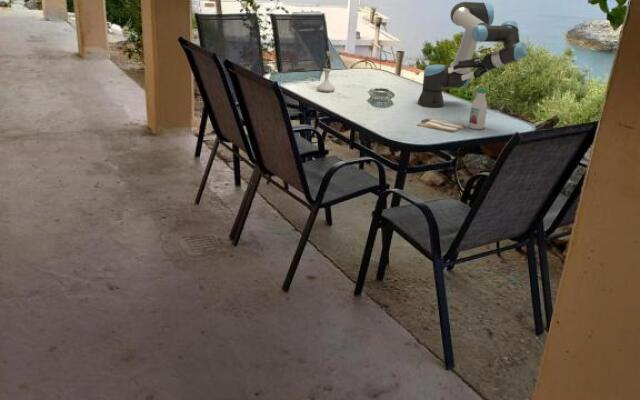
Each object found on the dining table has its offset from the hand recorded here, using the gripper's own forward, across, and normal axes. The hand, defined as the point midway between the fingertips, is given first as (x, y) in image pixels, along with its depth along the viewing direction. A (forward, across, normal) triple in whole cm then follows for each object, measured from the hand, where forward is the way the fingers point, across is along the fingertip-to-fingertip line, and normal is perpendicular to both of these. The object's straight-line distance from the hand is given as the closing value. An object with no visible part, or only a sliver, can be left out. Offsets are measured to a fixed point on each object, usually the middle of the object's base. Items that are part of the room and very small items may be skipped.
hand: (455, 74), depth 300 cm
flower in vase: (+96, +11, +25) cm, 100 cm away
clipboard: (+12, +1, -24) cm, 27 cm away
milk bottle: (-1, +14, -26) cm, 30 cm away
